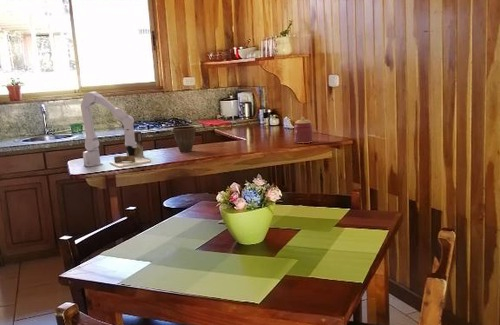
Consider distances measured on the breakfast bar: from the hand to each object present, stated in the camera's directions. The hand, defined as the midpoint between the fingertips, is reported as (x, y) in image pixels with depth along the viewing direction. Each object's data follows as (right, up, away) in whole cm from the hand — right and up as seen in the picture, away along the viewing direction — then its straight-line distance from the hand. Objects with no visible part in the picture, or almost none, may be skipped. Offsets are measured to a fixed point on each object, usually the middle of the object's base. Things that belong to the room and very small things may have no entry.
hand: (131, 158), depth 312 cm
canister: (+109, +11, +41) cm, 117 cm away
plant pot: (+29, +5, +30) cm, 42 cm away
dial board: (-1, -3, 0) cm, 3 cm away
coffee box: (-2, +1, +21) cm, 21 cm away
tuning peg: (-4, -2, -1) cm, 5 cm away
